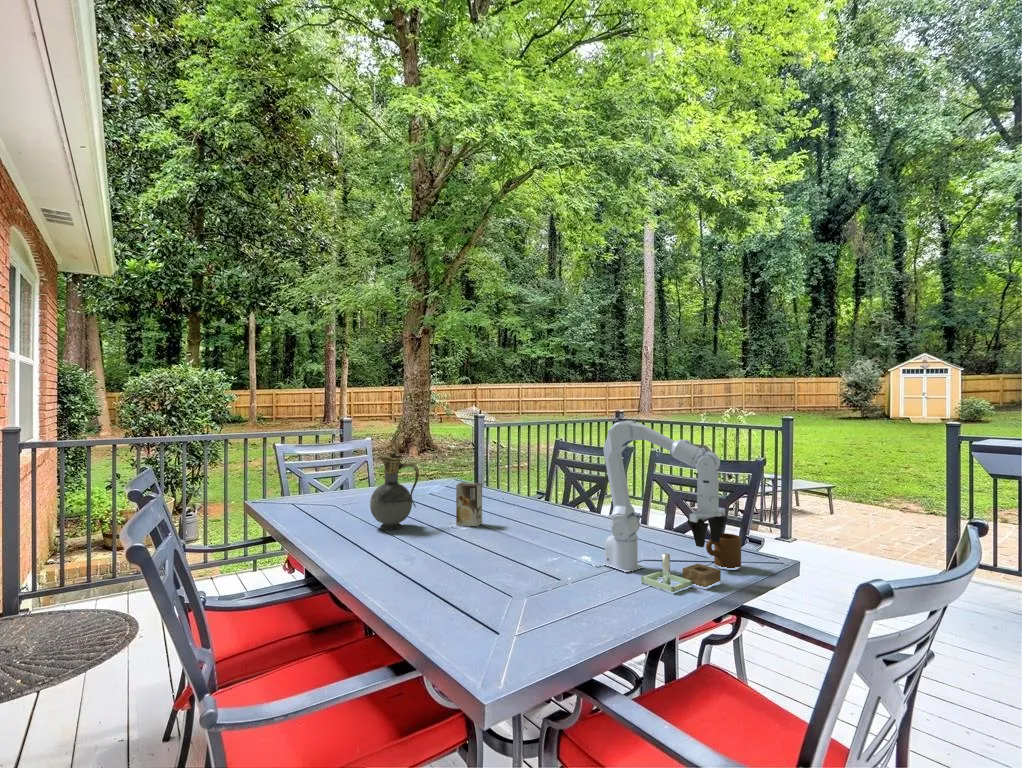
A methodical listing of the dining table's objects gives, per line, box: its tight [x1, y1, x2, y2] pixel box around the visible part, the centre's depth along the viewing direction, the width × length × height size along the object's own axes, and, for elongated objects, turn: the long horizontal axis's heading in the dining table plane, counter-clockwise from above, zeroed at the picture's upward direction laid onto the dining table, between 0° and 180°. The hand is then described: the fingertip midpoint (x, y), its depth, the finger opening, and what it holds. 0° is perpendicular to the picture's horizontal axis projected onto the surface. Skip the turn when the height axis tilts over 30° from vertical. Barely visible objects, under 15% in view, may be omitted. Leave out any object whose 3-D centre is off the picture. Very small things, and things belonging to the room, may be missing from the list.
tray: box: [640, 570, 692, 592], centre depth 155 cm, size 10×8×2 cm
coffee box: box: [455, 482, 483, 527], centre depth 223 cm, size 9×6×16 cm
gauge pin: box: [661, 552, 671, 585], centre depth 155 cm, size 2×2×8 cm
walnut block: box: [682, 563, 722, 587], centre depth 156 cm, size 7×7×4 cm
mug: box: [705, 532, 742, 568], centre depth 170 cm, size 12×8×9 cm, turn 114°
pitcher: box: [369, 448, 420, 530], centre depth 218 cm, size 11×19×30 cm, turn 121°
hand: (707, 544), depth 158 cm, fingers open, 7 cm apart
